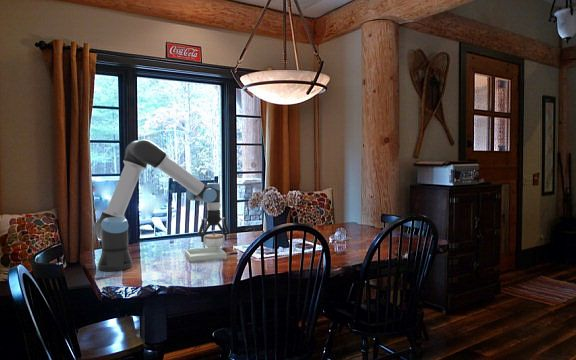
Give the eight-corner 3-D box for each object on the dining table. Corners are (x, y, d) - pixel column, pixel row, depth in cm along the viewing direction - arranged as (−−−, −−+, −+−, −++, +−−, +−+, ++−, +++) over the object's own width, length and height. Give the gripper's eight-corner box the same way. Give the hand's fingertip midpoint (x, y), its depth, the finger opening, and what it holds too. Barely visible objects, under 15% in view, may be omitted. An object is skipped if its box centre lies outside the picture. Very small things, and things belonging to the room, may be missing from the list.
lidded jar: (225, 247, 245) (225, 231, 244) (220, 250, 234) (220, 234, 234) (207, 246, 246) (207, 231, 245) (202, 250, 235) (201, 234, 235)
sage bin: (190, 262, 206) (190, 256, 206) (184, 254, 223) (184, 249, 223) (226, 259, 213) (226, 253, 213) (218, 252, 230) (218, 246, 230)
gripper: (231, 208, 247) (231, 244, 248) (192, 209, 238) (192, 247, 239) (234, 209, 240) (234, 246, 241) (194, 210, 231) (194, 249, 232)
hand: (213, 246), depth 240 cm, fingers closed on lidded jar, 11 cm apart
